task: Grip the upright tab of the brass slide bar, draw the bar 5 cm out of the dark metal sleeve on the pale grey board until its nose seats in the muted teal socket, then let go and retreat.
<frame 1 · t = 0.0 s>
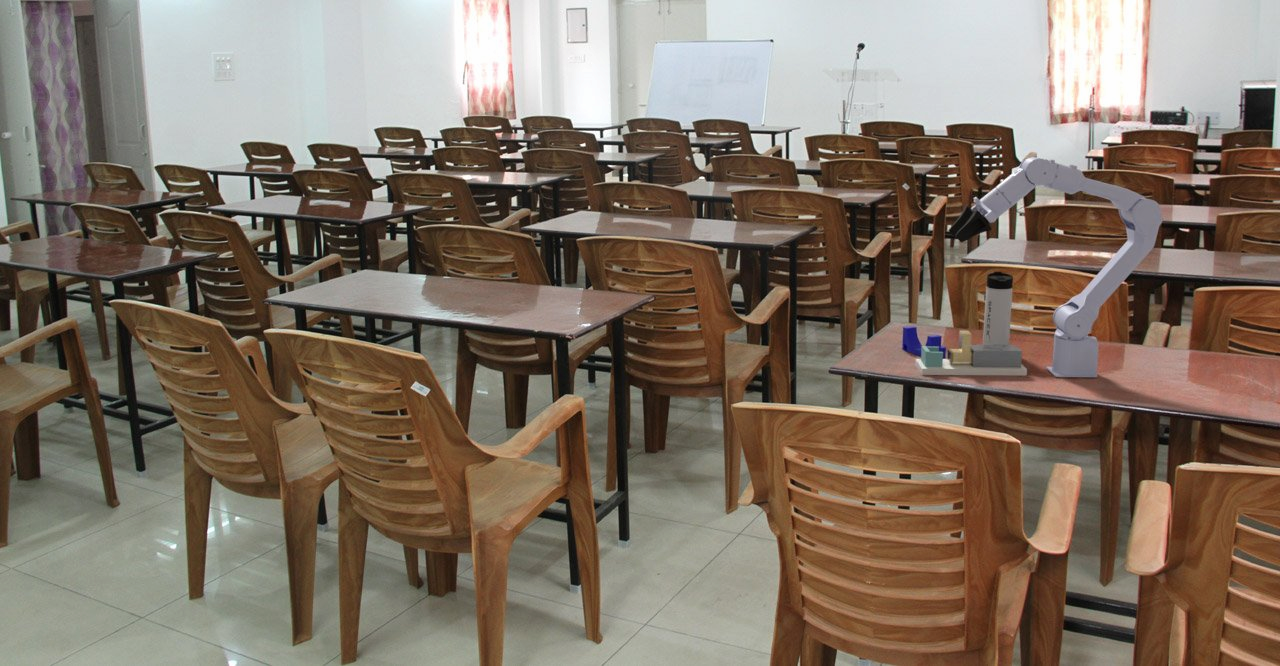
hand: (954, 236, 255), 32 cm above the table, tool tilted 50°, fingers open, 7 cm apart
travel mug: (995, 352, 281), on the table
slide bar: (981, 346, 263), point 6 cm above the table, slide at 0.0 cm
cable clip: (923, 355, 280), on the table
socket: (931, 369, 265), resting on base board
base board: (969, 370, 265), on the table
sleeve: (993, 370, 264), resting on base board
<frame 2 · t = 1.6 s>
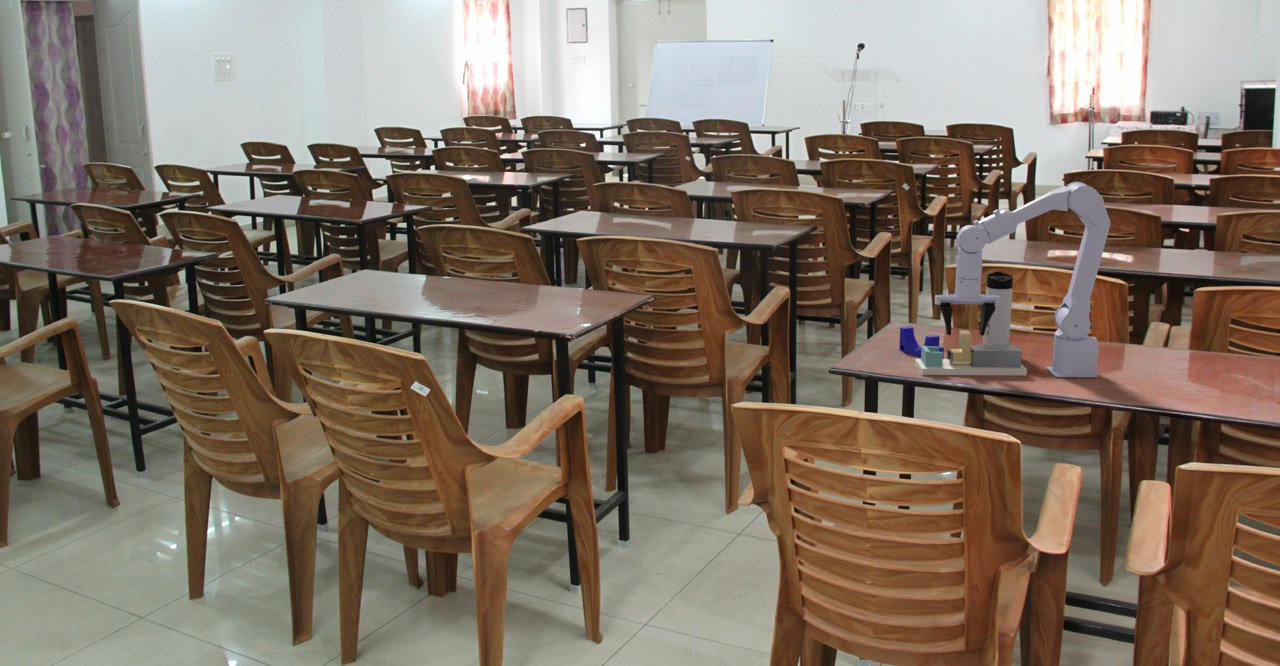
hand: (965, 334, 263), 9 cm above the table, tool pointing down, fingers open, 7 cm apart
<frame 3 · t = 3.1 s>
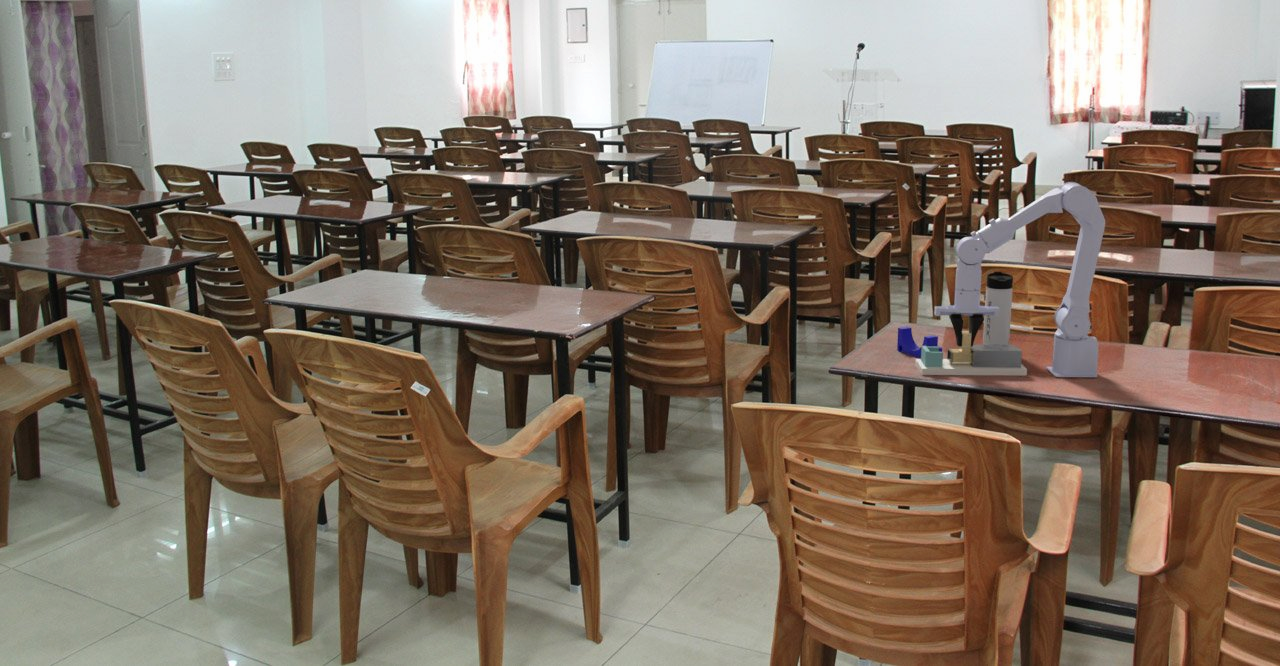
hand: (964, 345, 263), 6 cm above the table, tool pointing down, fingers closed on slide bar, 2 cm apart
slide bar: (981, 346, 263), point 6 cm above the table, slide at 0.0 cm, touching gripper
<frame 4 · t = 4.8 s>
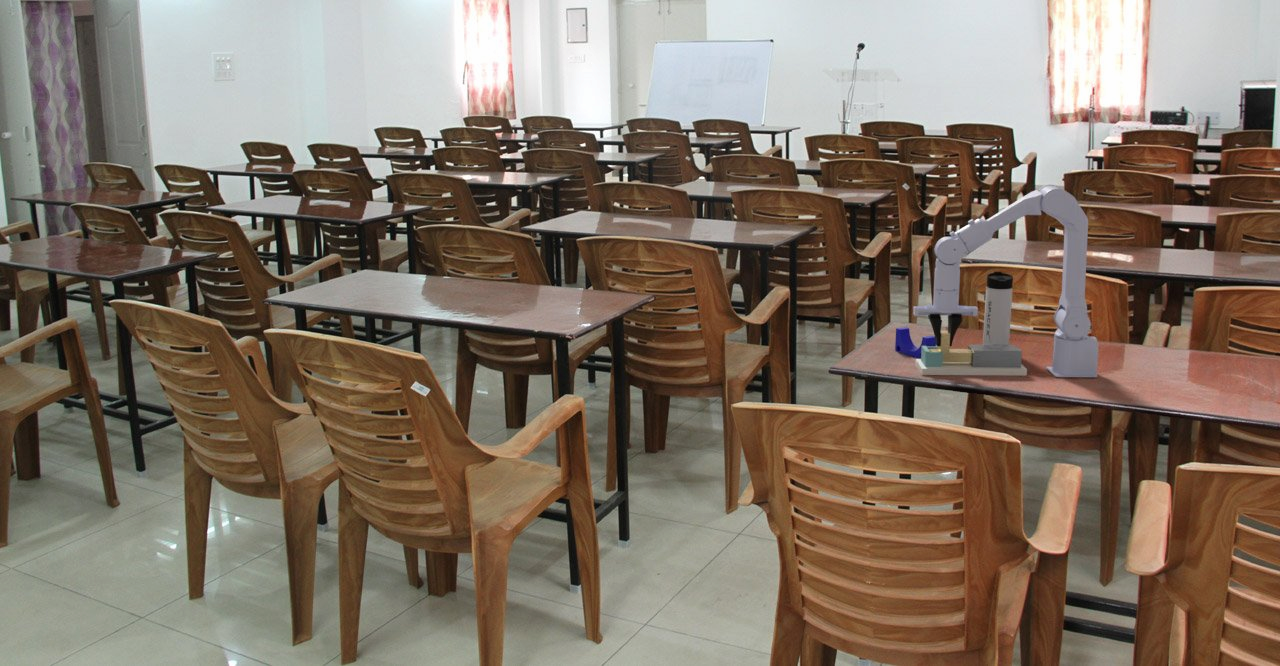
hand: (943, 345, 264), 6 cm above the table, tool pointing down, fingers closed on slide bar, 2 cm apart
slide bar: (960, 346, 263), point 6 cm above the table, slide at 4.9 cm, touching gripper
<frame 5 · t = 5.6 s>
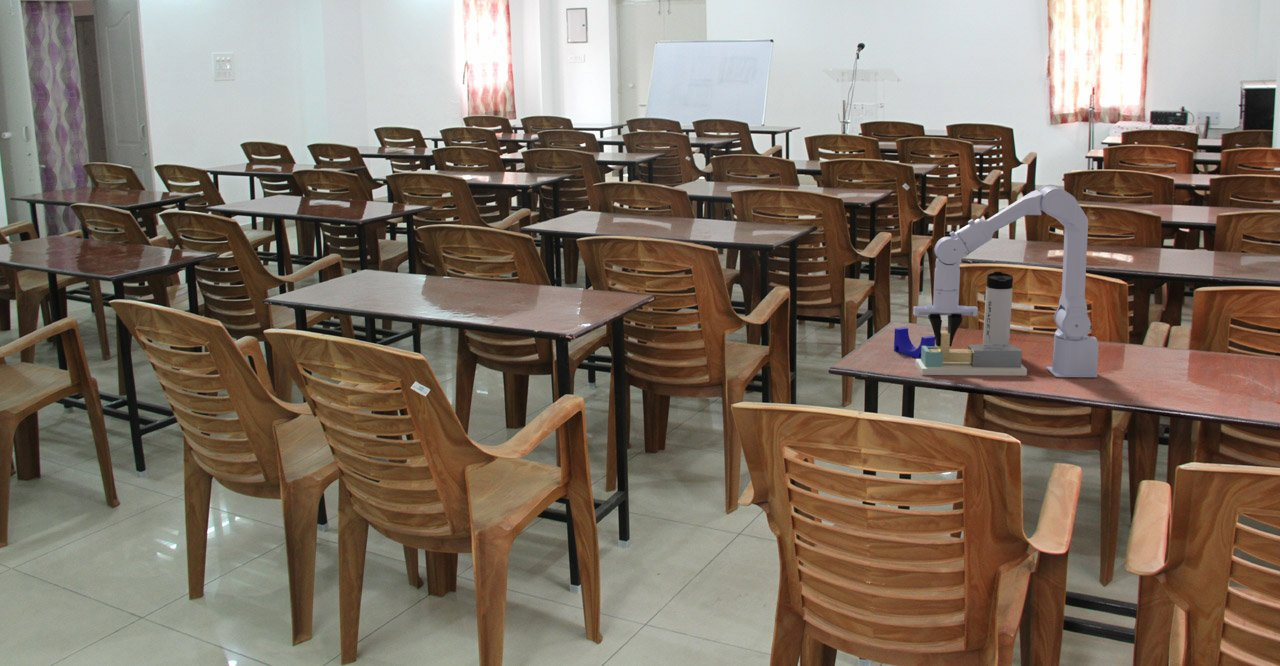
hand: (943, 345, 264), 6 cm above the table, tool pointing down, fingers closed on slide bar, 2 cm apart
slide bar: (960, 346, 263), point 6 cm above the table, slide at 4.9 cm, touching gripper
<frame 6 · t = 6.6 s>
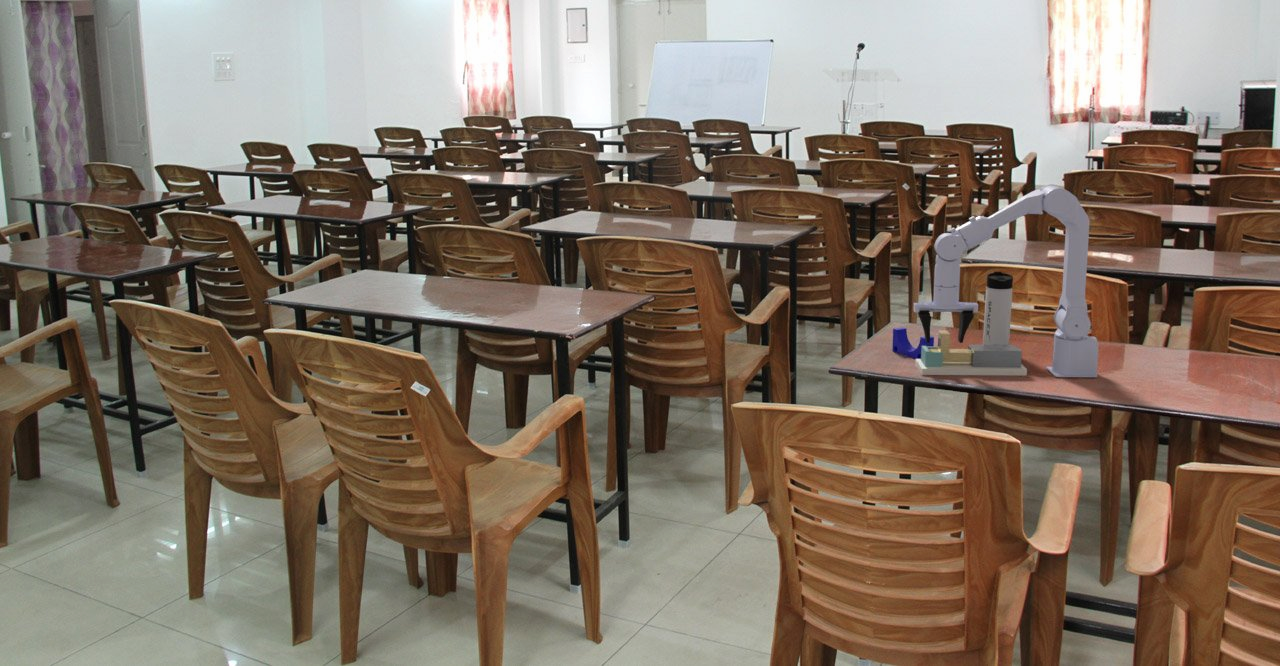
hand: (944, 341, 263), 7 cm above the table, tool pointing down, fingers open, 7 cm apart
slide bar: (960, 346, 263), point 6 cm above the table, slide at 4.9 cm
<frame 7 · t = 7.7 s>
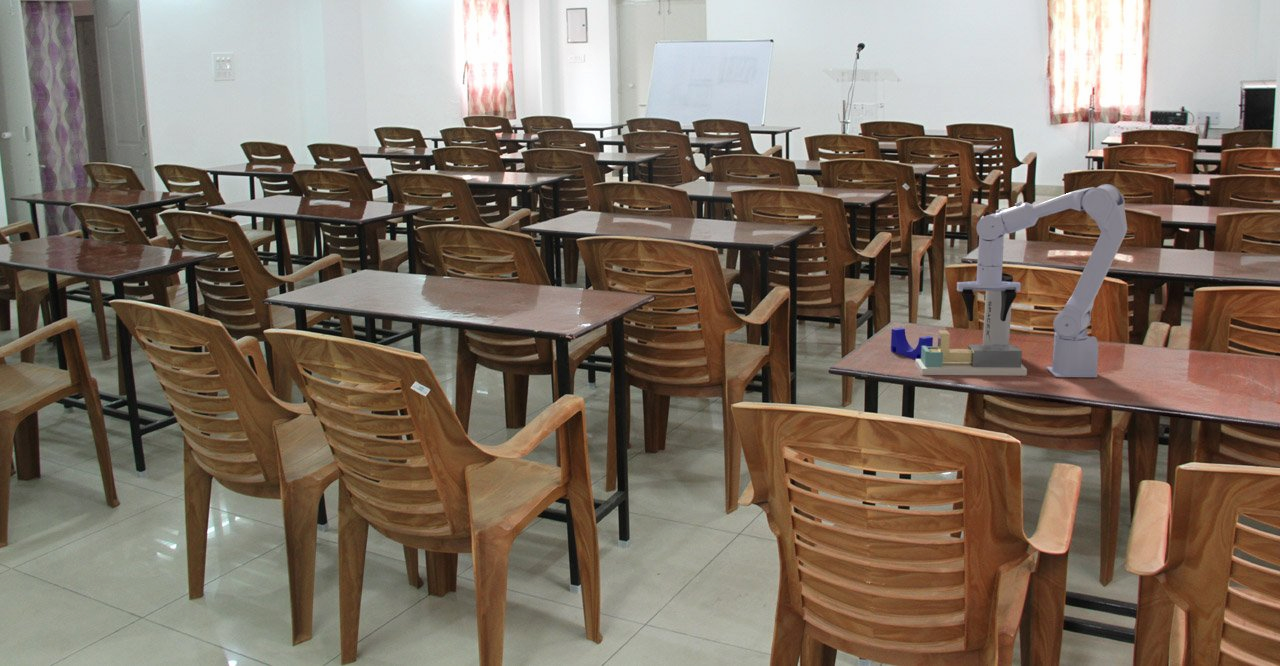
hand: (986, 320, 269), 10 cm above the table, tool pointing down, fingers open, 7 cm apart
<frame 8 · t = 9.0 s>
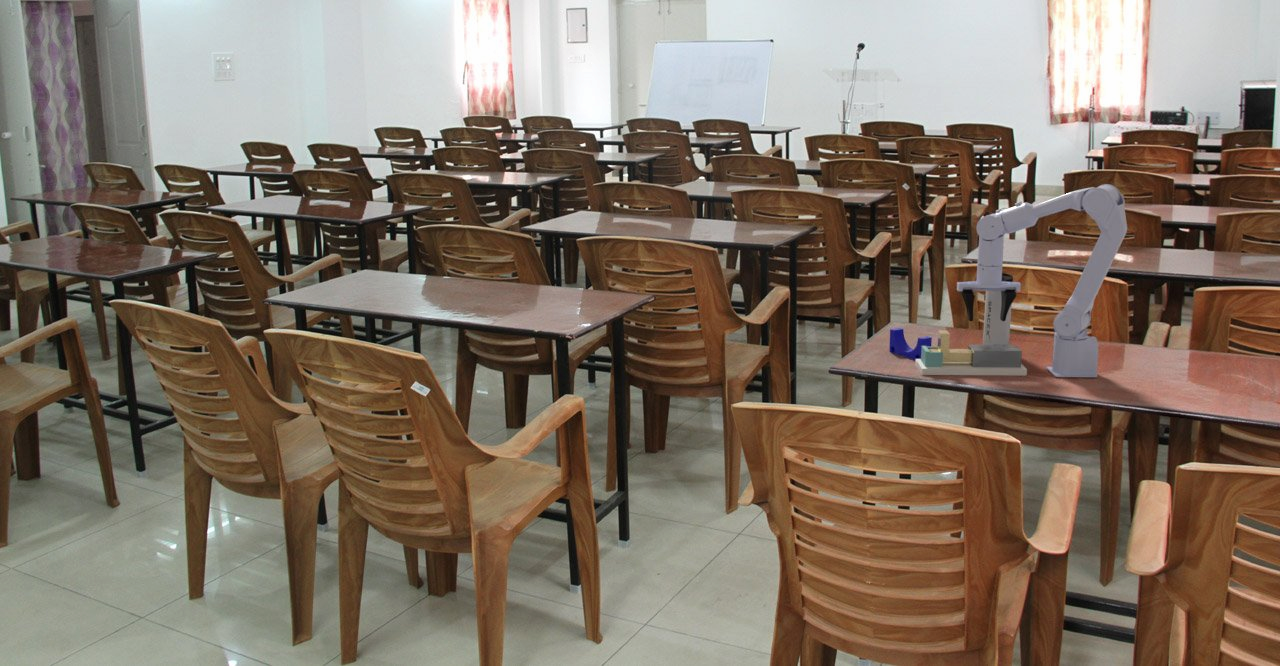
hand: (986, 320, 269), 10 cm above the table, tool pointing down, fingers open, 7 cm apart
at the end: slide bar slide at 4.9 cm; the gripper is holding nothing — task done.
